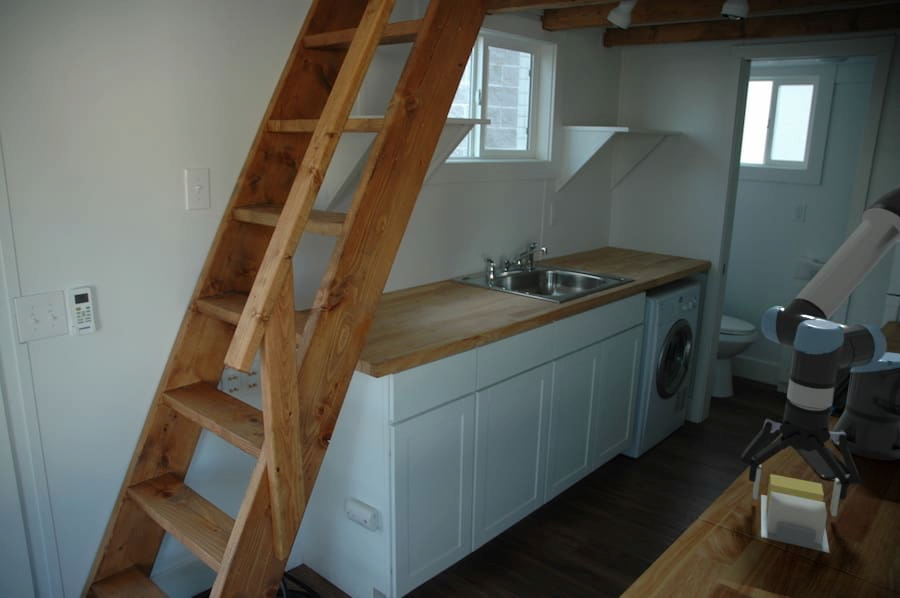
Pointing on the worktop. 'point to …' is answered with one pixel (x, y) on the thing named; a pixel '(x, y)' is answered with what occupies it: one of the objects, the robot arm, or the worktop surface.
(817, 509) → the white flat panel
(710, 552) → the worktop surface
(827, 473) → the smartphone
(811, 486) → the butter stick brick
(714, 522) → the worktop surface
